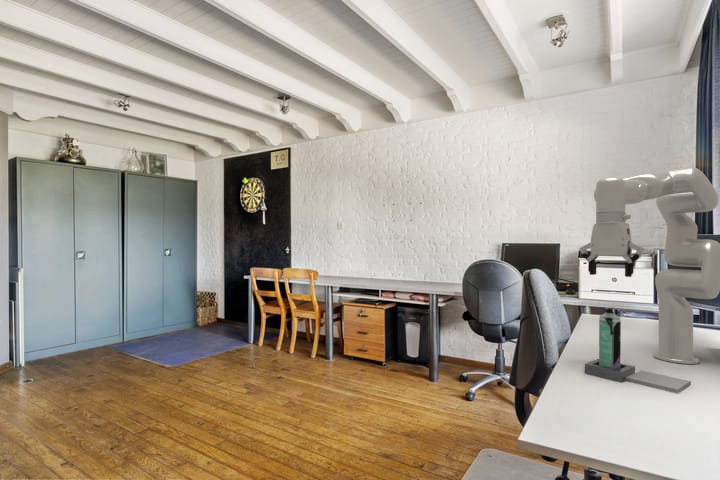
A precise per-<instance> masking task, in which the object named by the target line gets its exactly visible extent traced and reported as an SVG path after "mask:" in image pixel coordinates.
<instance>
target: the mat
mask: <svg viewBox="0 0 720 480" xmlns="http://www.w3.org/2000/svg"><path fill="white" fill-rule="evenodd" d="M625 382H629V383H633V384H637V385H641V386H642V385H643V386H646V387H650V388H653V389H659V390H661V391H662V390H663V391H665V392H671V393H675V394H679V393H681V392H682V391H684V390H685V389H687V388H688V387H690V386H691V383H692V381H691V380H687V379H683V378H682V379H681V378H680V377H679V378H678V377H674V376H668V375H664V374H659V373H655V372H649V371H646V370H638V371H637V372H636V371H635V373H634V374H632V375H630V376H628V377H626V381H625Z"/></svg>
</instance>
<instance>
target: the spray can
mask: <svg viewBox="0 0 720 480" xmlns="http://www.w3.org/2000/svg"><path fill="white" fill-rule="evenodd" d="M621 323H622V322H621V317H620V316H618V315H617V314H616V313H615V312H614V308H607V309H606V311H605V312H604V313H603V314H601V315H599V318H598V324H599V325H598V326H599V327H598V329H599V330H598V332H599V333H598V359H599V366H603V367H607V368H612V369H616V370H619V369H621V364H622V363H621V359H622V358H621V354H622V353H621V352H622V351H621V349H622V348H621V347H622V346H621V342H622V341H621V340H622V339H621V334H622V332H621V329H622V326H621Z"/></svg>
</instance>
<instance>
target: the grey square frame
mask: <svg viewBox="0 0 720 480" xmlns="http://www.w3.org/2000/svg"><path fill="white" fill-rule="evenodd" d="M634 373H636V366H635V365H630V364H625V363H621V369H619V370H616V369H612V368H607V367H603V366H599V358H597V359H594V360H592V361H589V362H586V363H584V374H585V375H589V376H593V377H598V378H602V379H605V380H608V381H613V382H617V383H621V384H623V383H625V382H627V381H626V377H628V376H630V375H632V374H634Z"/></svg>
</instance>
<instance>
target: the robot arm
mask: <svg viewBox="0 0 720 480" xmlns="http://www.w3.org/2000/svg"><path fill="white" fill-rule="evenodd" d="M595 186H596V187H595V189H594V193H593V198H594V201H595V223H594V224H593V226H592V231H591V236H590V242H589V243H587V244H585V245H583V246H579V250H580V253H581V255H582V257H583V258H584V259H585V260H586V262H588V267H587V268H588V272H589V275H591V276H595V275H597V262H596V260H597V259H598V258H599V257H622V258H623V259H624V260H625V261H626V262H625V263H624V276H625V277H626V278H631V277H633V276H632V275H634V264H635V263H636V261H638V260H639V259H641V256H642V255H643V253H644V252H645V248H644V247H642V246H640V245H638V244H636V243H633V242H632V235H631V233H632V232H631V227H630V225H629V224H630V223H628V222H627V223H626V221H627V220H631V217H632V216H631V214H627V213H626V205H635V204H639V203H642V202H643V201H649V200H654V199H656V202H655V203H656V206H657V208H658V210H659V212H660V214H661V216H662V218H663V219H664V222H665V223H666V237H665V246H664V254H663V255H664V256H663V258H664V261H665V263H667V264H668V265H670V266H674V267H675V266H676V267H687V268H688V267H691V268H692V267H693V268H701V269H700V270H699V269H683V268H680V269H679V268H667V269H662V270H660V271H659V272H657V274H656V275H655V279H654V283H655V288H656V293H657V299H658V351H655V352H653V353H652V355H653V357H654V358H656V359H658V360H661V361H665V362H668V363H669V362H670V363H675V364H683V365H697V364H699V363H700V358H698V357H696V356H694V309H693V307H692V306H691V304H690V302H688V300H687V299H686V298H690V299H700V300H712V299H716V298H717V297H718V296H719V294H720V242H719V241H717V240H713V239H708V238H706V239H704V238H703V239H700V238H699V239H698V230H699V228H698V225H697V223H696V222H695V221H694V219H692V218H691V217H690V216H689V215H688V214H690V213H706V212H711V211H713V210H715V209H716V208H717V206H718V204H719V194H718V192H717V190H716V188H715V187H714V185H713V184H712V183H711V181H710V180H709V179H708V177H707V176H706V175H705V174H704V172H703V171H702V170H701V169H699V168H697V167H695V166H687V167H680V168H672V169H671V168H670V169H665V170H659V171H655V172H651V173H646V174H641V175H637V176H631V177H628V178H621V177H606V178H602V179H599V180H598V181H597V182H596V185H595ZM589 249H590V254H589V253H588V251H587V250H589ZM633 250H635V251H636V252H635V253H634V254H633V255H632V253H633Z"/></svg>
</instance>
